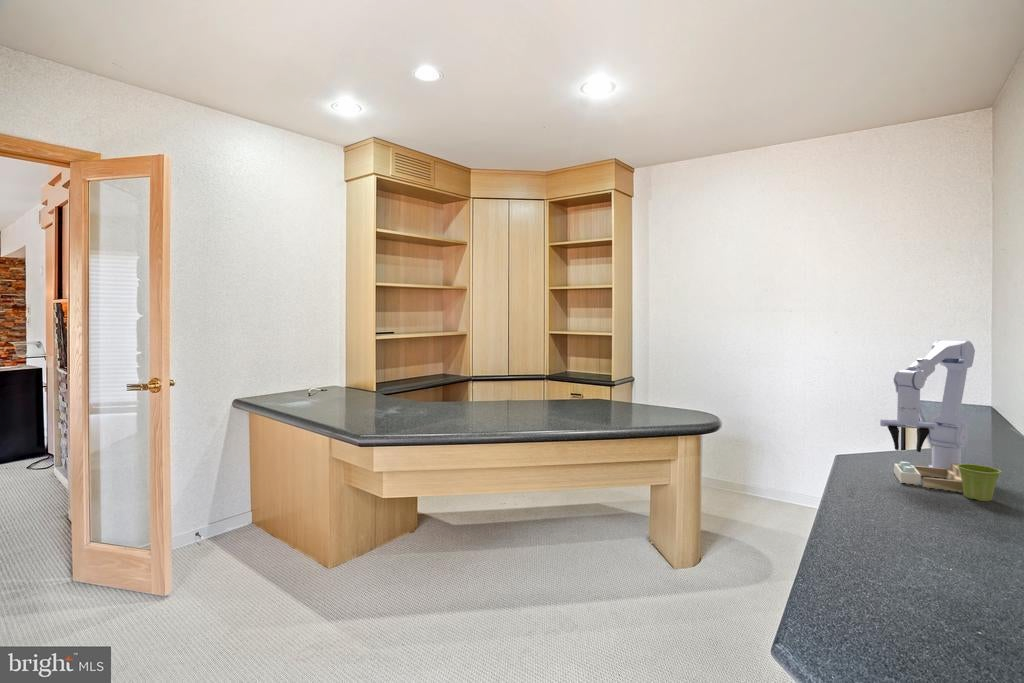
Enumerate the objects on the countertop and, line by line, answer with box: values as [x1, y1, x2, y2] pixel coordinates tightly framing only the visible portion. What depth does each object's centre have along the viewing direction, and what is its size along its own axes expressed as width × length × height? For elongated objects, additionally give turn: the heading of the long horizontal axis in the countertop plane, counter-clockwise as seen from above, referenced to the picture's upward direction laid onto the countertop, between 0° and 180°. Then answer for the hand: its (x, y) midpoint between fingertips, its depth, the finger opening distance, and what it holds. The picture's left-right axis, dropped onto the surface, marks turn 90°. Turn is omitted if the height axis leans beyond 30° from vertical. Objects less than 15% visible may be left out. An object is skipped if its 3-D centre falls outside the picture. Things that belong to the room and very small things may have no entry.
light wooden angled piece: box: [913, 463, 963, 493], centre depth 168 cm, size 16×13×5 cm
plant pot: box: [957, 463, 1002, 502], centre depth 154 cm, size 9×9×9 cm
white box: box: [893, 461, 922, 486], centre depth 172 cm, size 12×5×5 cm, turn 153°
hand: (907, 450), depth 172 cm, fingers open, 5 cm apart
